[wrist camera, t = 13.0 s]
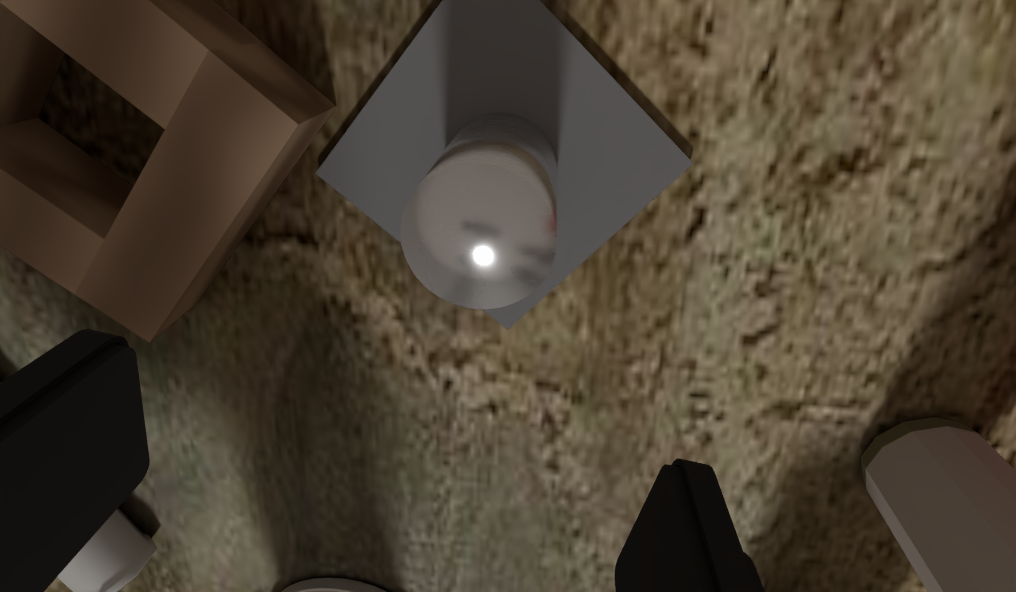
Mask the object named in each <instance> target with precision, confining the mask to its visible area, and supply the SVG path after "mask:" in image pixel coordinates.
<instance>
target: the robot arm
mask: <svg viewBox="0 0 1016 592" xmlns="http://www.w3.org/2000/svg"><path fill="white" fill-rule="evenodd" d="M148 467H149V452H148V444H147V436H146V428H145V421H144V413H143V405H142V397H141V390H140V382H139V374H138V366H137V358H136V353H135V351H134V349H133V348H130V347H129V345H128V342H127V341H126V339H125V338H123V337H121V336H117V335H112V334H108V333H103V332H99V331H94V330H89V329H85V330H81V331H79V332H77V333H75V334H73V335H72V336H70V337H69V338H67V339H66V340H64V341H63V342H61V343H60V344H58V345H57V346H55V347H54V348H52V349H51V350H49V351H48V352H46V353H45V354H43V355H42V356H40V357H39V358H37V359H36V360H34V361H33V362H31V363H30V364H28V365H27V366H25V367H23V368H22V369H20V370H19V371H17V372H16V373H14V374H13V375H11V376H10V377H8V378H7V379H5V380H4V381H2V382H1V383H0V592H44V591H45V590H46V589H47V587H48V586H49V585H50V584H51V583H52V582H53V581H54V580H55V578H56V577H57V576H58V575H59V574H60V573H61V572H62V571H63V569H64V568H65V567H66V566H67V565H68V564H69V563H70V562H71V560H72V559H73V558H74V557H75V556H76V555H77V554H78V553H79V551H80V550H81V549H82V548H83V547H84V546H85V545H86V543H87V542H88V541H89V540H90V539H91V538H92V537H93V536H94V534H95V533H96V532H97V531H98V530H99V529H100V528H101V527H102V525H103V524H104V523H105V522H106V521H107V520H108V519H109V518H110V516H111V515H112V514H113V513H114V512H115V511H116V510H117V508H118V507H119V506H120V505H121V504H122V503H123V502H124V501H125V499H126V498H127V497H128V496H129V495H130V494H131V493H132V492H133V490H134V489H135V488H136V487H137V486H138V485H139V484H140V482H141V481H142V480H143V478H144V477H145V475H146V473H147V470H148ZM615 587H616V592H764V589H763V586H762V584H761V581H760V578H759V575H758V573H757V570H756V568H755V566H754V564H753V562H752V560H751V558H750V557H749V556H748V555H747V554H746V553H744V552H743V550H742V547H741V545H740V542H739V539H738V536H737V533H736V531H735V528H734V525H733V522H732V520H731V517H730V514H729V511H728V508H727V506H726V503H725V500H724V497H723V495H722V492H721V489H720V486H719V483H718V481H717V478H716V475H715V472H714V470H713V468H712V467H711V466H709V465H706V464H702V463H697V462H692V461H688V460H683V459H676V460H675V461H674V462H673V463H672V465H666V464H665V465H664V466H663V467H662V468H661V470H660V472H659V474H658V476H657V478H656V480H655V482H654V484H653V487H652V489H651V491H650V493H649V495H648V497H647V499H646V501H645V503H644V505H643V507H642V509H641V511H640V514H639V516H638V518H637V520H636V522H635V524H634V526H633V528H632V530H631V532H630V534H629V536H628V539H627V541H626V543H625V545H624V547H623V549H622V551H621V553H620V555H619V557H618V560H617V563H616V567H615ZM281 592H387V591H385V590H383V589H380V588H378V587H376V586H373V585H370V584H366V583H363V582H360V581H354V580H349V579H343V578H314V579H309V580H304V581H300V582H298V583H295V584H293V585H290V586H288V587H287V588H285V589H284V590H282V591H281Z"/></svg>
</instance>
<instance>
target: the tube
mask: <svg viewBox="0 0 1016 592" xmlns="http://www.w3.org/2000/svg"><path fill="white" fill-rule="evenodd" d="M156 549H157V547H156V545H155V544H154V542H153V540H152V538H151V537H150V536H149V535H148V534H144V533H142V532H141V531H140V530H139V529H138V528H137V527H136V526H135V525H134V524H133V523H132V522H131V521H130V520H129V519H128V518H127V517H126V515H125V514H124V513H123V512H122V511H121V510H120V509H119V508H117V510H116V511H115V512H114V513H113V514H112V515H111V516H110V518H109V519H108V520H107V521H106V522H105V523H104V524H103V525H102V527H101V528H100V529H99V530H98V531H97V532H96V533H95V534H94V536H93V537H92V538H91V539H90V540H89V541H88V542H87V543H86V545H85V546H84V547H83V548H82V549H81V550H80V551H79V553H78V554H77V555H76V556H75V557H74V558H73V559H72V560H71V562H70V563H69V564H68V565H67V566H66V567H65V568H64V569H63V571H62V572H61V573H60V574H59V575H58V576H57V577H58V578H59V579H60V580H61V581H62V582H63V583H64V584H65V585H66V586H68V587H69V588H70V589H71V590H72V591H73V592H117V591H118V590H119V589H121V588H122V587H123V586H124V585H126V584H127V583H128V582H129V581H131V580H132V579H133V578H134V577H136V576H137V575H138V573H139V572H140V571H141V569H142V568H143V567H144V565H145V564H146V563H147V561H148V560H149V559H150V557H151V556H152V555H153V553H154V552H155V551H156Z"/></svg>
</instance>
